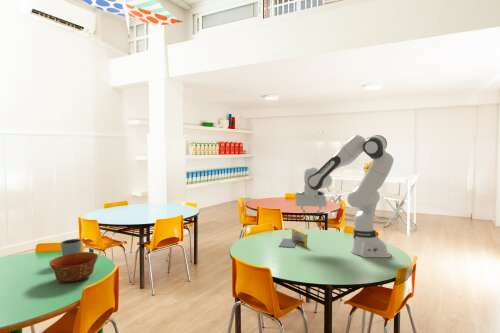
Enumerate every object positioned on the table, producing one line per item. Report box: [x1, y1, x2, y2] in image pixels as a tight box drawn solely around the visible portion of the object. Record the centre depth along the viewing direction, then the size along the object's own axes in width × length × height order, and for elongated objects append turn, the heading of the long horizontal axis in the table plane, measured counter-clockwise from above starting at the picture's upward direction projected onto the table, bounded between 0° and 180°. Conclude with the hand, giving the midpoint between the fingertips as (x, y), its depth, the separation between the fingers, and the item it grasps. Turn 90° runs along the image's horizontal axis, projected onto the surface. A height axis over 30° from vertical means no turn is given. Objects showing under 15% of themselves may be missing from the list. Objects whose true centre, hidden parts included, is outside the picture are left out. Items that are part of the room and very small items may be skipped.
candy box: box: [291, 228, 308, 248], centre depth 219 cm, size 16×2×8 cm, turn 25°
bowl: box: [48, 251, 99, 283], centre depth 159 cm, size 21×21×10 cm
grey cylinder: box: [60, 238, 82, 256], centre depth 183 cm, size 10×10×12 cm
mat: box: [278, 238, 297, 249], centre depth 221 cm, size 10×20×1 cm, turn 166°
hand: (311, 213), depth 216 cm, fingers open, 8 cm apart
